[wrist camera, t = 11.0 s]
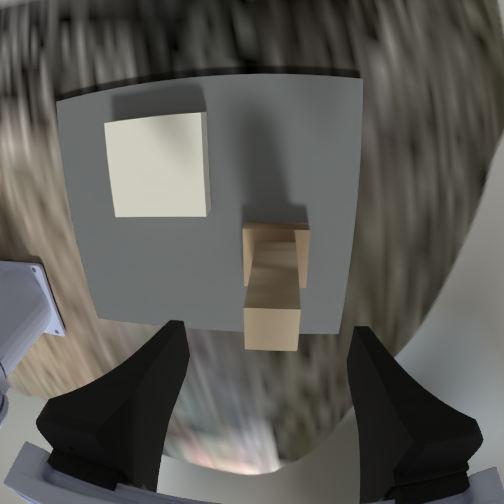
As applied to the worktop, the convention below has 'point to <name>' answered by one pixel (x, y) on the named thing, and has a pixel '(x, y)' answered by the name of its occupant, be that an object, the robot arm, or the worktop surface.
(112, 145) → the tile
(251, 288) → the stepped wooden block
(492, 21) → the worktop surface
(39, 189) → the worktop surface
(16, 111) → the worktop surface
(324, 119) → the mat
